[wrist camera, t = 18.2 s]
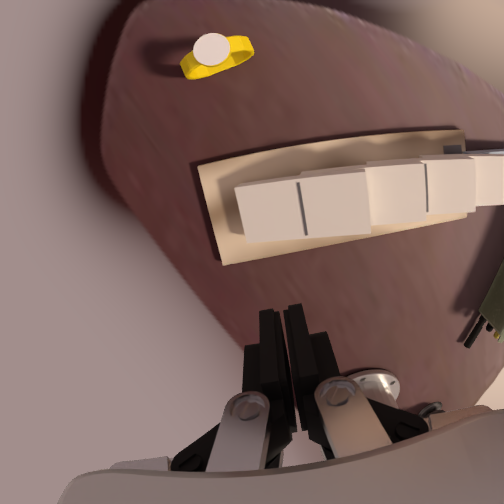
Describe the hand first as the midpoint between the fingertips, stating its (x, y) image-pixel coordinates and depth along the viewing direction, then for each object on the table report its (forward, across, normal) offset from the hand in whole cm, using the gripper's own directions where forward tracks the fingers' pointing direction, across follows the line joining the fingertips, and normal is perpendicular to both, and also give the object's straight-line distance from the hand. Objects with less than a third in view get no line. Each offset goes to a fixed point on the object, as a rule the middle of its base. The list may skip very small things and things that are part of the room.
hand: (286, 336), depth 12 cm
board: (+18, -9, -1) cm, 20 cm away
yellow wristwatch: (+18, +1, -15) cm, 24 cm away
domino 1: (+17, +2, -1) cm, 17 cm away
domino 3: (+17, -10, -1) cm, 20 cm away
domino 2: (+17, -4, -1) cm, 17 cm away
